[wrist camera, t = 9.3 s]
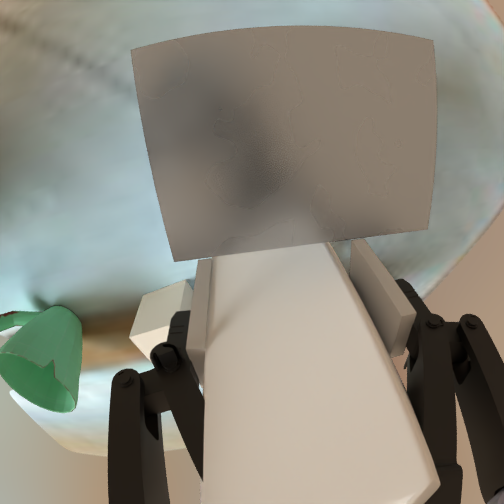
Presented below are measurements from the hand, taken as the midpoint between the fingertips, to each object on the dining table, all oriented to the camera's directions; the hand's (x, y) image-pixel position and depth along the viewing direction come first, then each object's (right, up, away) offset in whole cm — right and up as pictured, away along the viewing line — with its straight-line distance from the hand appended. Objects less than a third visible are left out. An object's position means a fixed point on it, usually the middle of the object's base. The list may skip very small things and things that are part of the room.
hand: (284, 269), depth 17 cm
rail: (-1, +5, +8) cm, 9 cm away
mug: (-26, -6, +13) cm, 30 cm away
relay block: (-9, -4, +13) cm, 16 cm away
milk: (0, +3, +5) cm, 5 cm away
